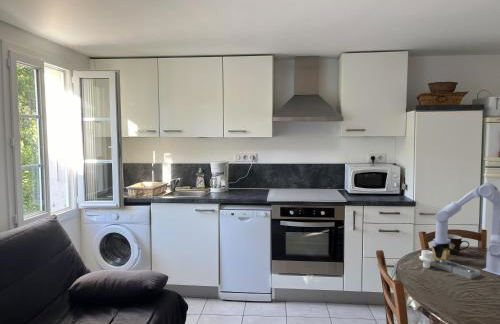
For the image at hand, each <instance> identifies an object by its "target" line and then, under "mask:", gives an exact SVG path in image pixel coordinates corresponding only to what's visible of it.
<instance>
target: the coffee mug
mask: <svg viewBox="0 0 500 324" xmlns="http://www.w3.org/2000/svg"><path fill="white" fill-rule="evenodd" d="M447 238H448V239H450V243H447V244H449V245H450V246H449V247H448V250H450V253H449V256H455V257H456V256H459V255H460V252H461V251H463V250H466V249H467V248H468V247H469V246H470V242H469V241H467V240H463V237H462V236H460V235H456V234H449V233H448V234H447ZM462 243H466V244H468V245H467V246H466V247H463V248H461V245H462Z"/></svg>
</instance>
